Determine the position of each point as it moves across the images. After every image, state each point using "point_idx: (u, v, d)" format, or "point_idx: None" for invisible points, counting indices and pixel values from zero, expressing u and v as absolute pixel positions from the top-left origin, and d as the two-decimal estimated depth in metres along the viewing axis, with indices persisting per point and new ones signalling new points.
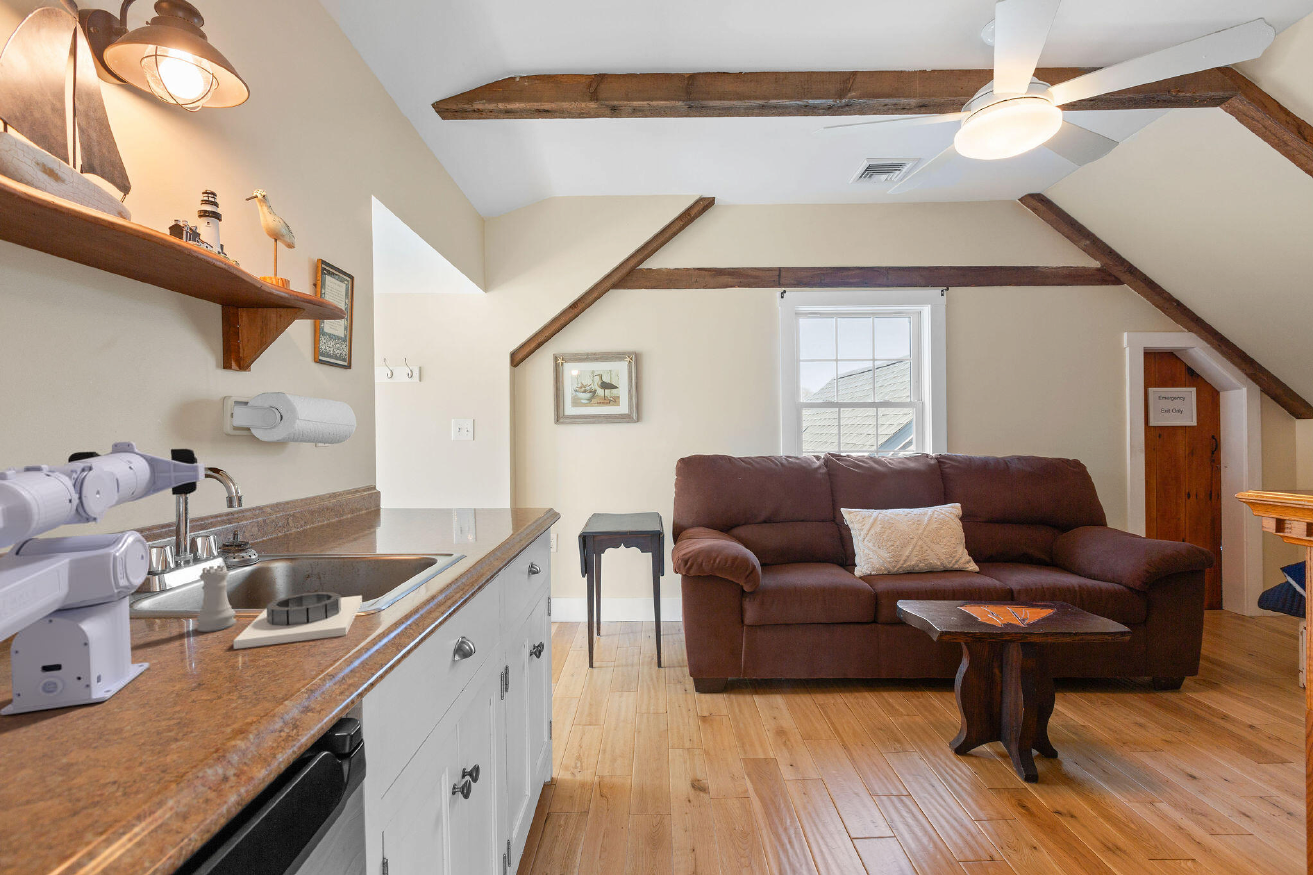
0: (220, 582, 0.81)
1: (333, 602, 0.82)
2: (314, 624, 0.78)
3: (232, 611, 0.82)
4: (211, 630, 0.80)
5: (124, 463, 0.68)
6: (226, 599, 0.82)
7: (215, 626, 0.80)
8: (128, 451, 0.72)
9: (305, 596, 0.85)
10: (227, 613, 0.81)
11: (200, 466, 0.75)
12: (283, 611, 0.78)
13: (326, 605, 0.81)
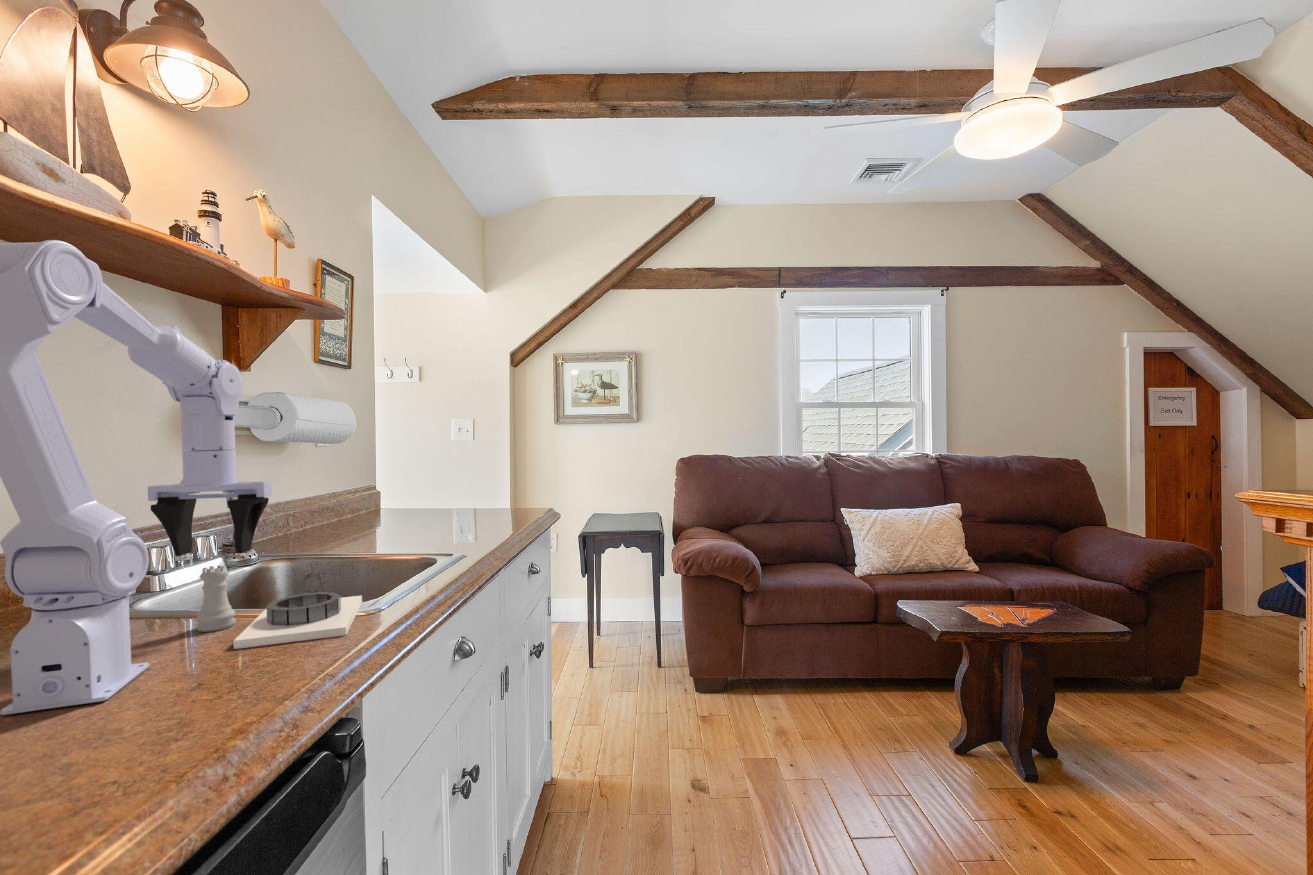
0: (220, 582, 0.81)
1: (333, 602, 0.82)
2: (314, 624, 0.78)
3: (232, 611, 0.82)
4: (211, 630, 0.80)
5: None
6: (226, 599, 0.82)
7: (215, 626, 0.80)
8: None
9: (305, 596, 0.85)
10: (227, 613, 0.81)
11: (270, 486, 0.82)
12: (283, 611, 0.78)
13: (326, 605, 0.81)
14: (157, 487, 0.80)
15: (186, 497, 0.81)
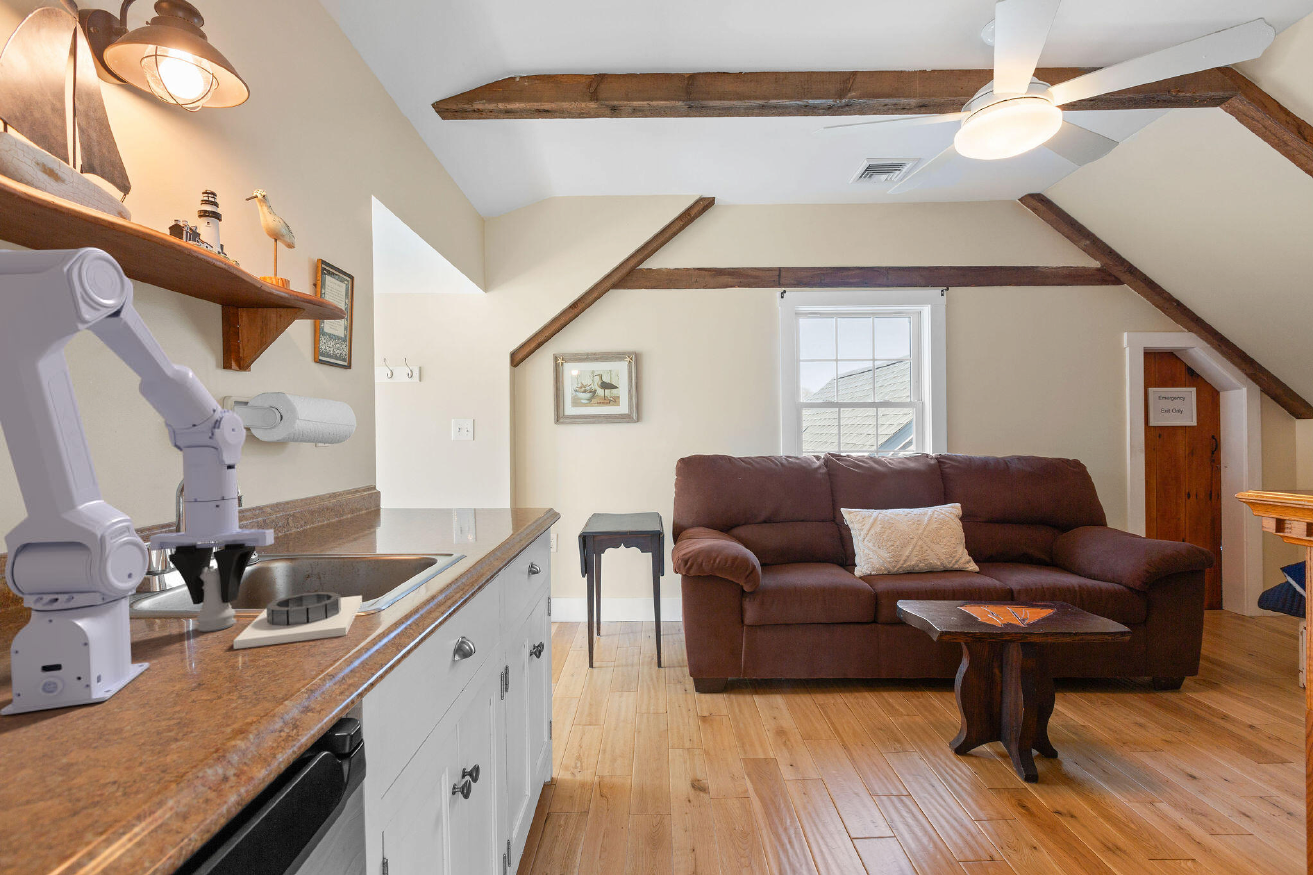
0: (220, 582, 0.81)
1: (333, 602, 0.82)
2: (314, 624, 0.78)
3: (232, 611, 0.82)
4: (211, 630, 0.80)
5: None
6: None
7: (215, 626, 0.80)
8: None
9: (305, 596, 0.85)
10: (227, 612, 0.81)
11: (272, 534, 0.83)
12: (283, 611, 0.78)
13: (326, 605, 0.81)
14: (159, 537, 0.80)
15: None
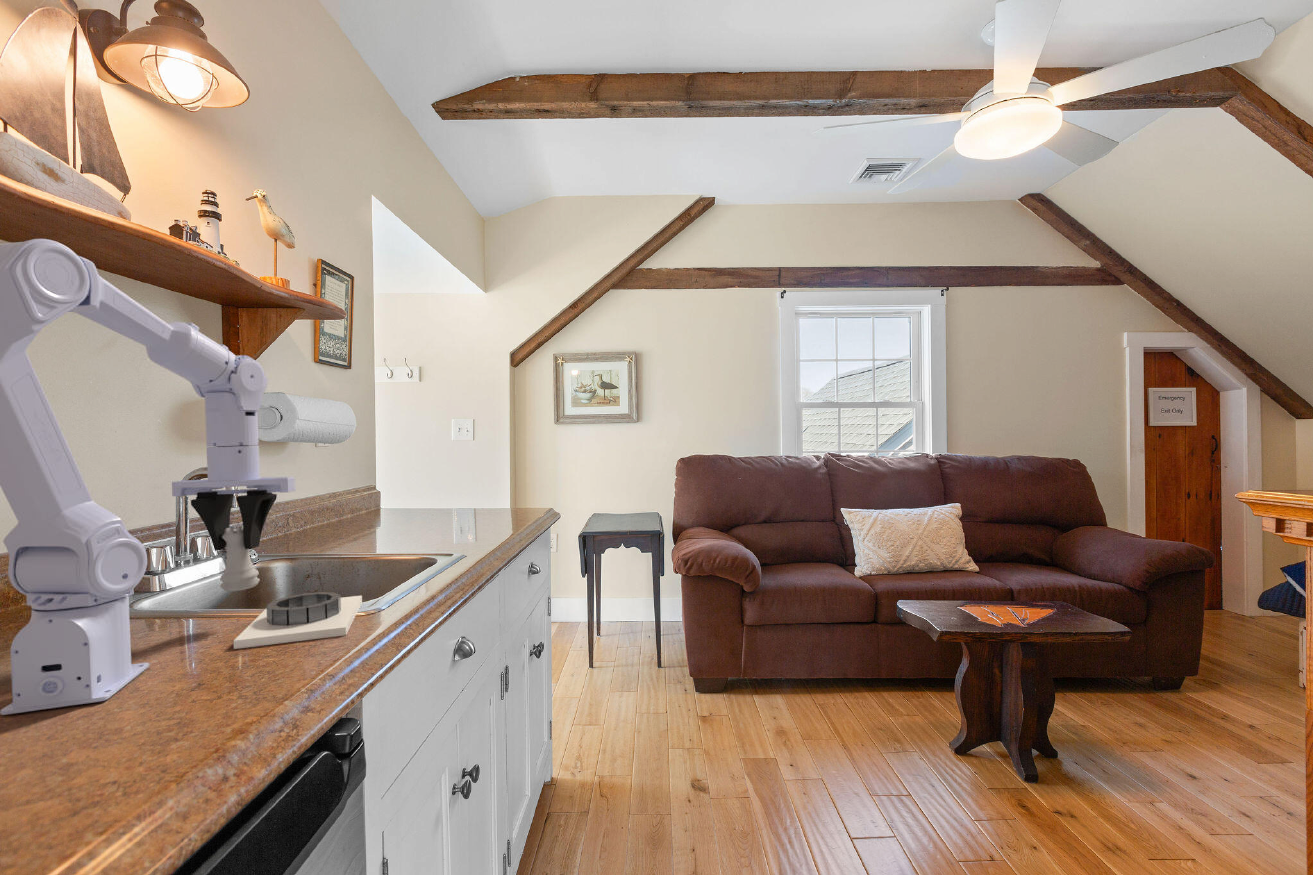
0: (242, 543, 0.81)
1: (333, 602, 0.82)
2: (314, 624, 0.78)
3: (255, 571, 0.83)
4: (235, 590, 0.80)
5: (258, 441, 0.83)
6: (249, 559, 0.82)
7: (239, 586, 0.81)
8: None
9: (305, 596, 0.85)
10: (250, 573, 0.82)
11: (294, 482, 0.83)
12: (283, 611, 0.78)
13: (326, 605, 0.81)
14: (181, 482, 0.80)
15: None
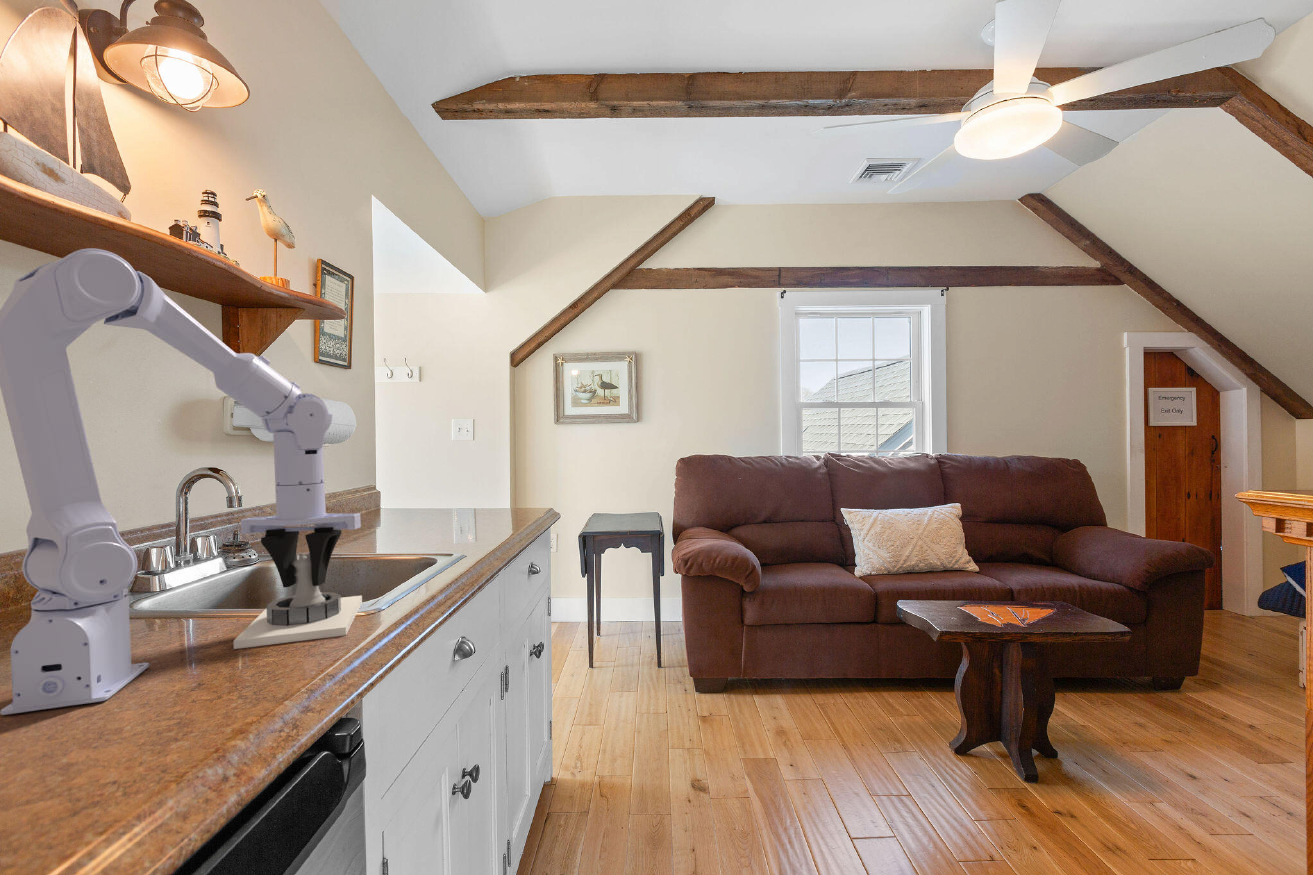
0: None
1: (333, 602, 0.82)
2: (314, 624, 0.78)
3: (323, 598, 0.84)
4: None
5: (323, 478, 0.83)
6: (317, 586, 0.83)
7: None
8: None
9: None
10: (318, 599, 0.83)
11: (359, 518, 0.83)
12: (283, 611, 0.78)
13: (326, 605, 0.81)
14: (250, 520, 0.81)
15: None
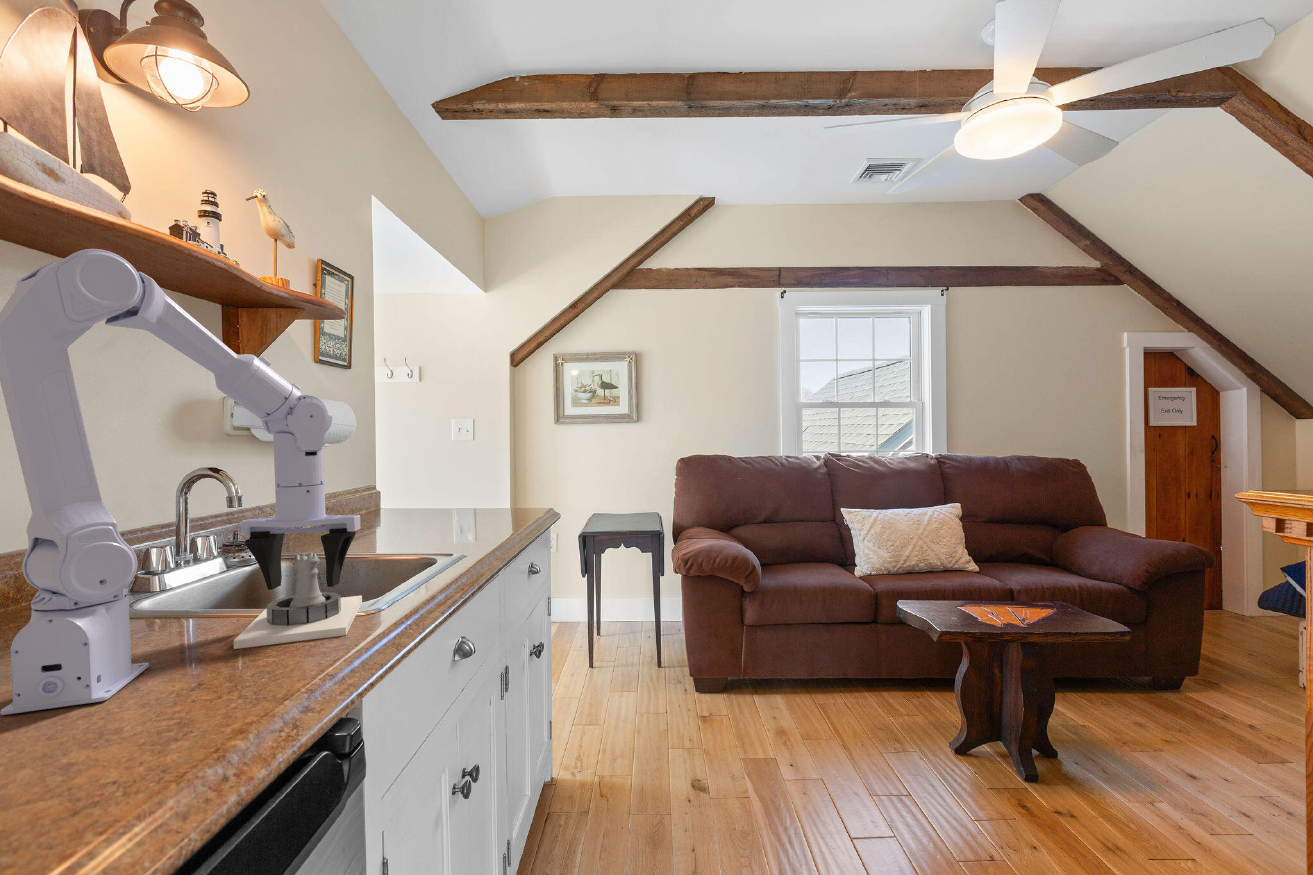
0: (312, 569, 0.82)
1: (333, 602, 0.82)
2: (314, 624, 0.78)
3: (323, 598, 0.84)
4: None
5: (323, 480, 0.83)
6: (317, 586, 0.83)
7: None
8: None
9: None
10: (318, 599, 0.83)
11: (359, 520, 0.83)
12: (283, 611, 0.78)
13: (326, 605, 0.81)
14: (250, 522, 0.81)
15: (277, 531, 0.82)
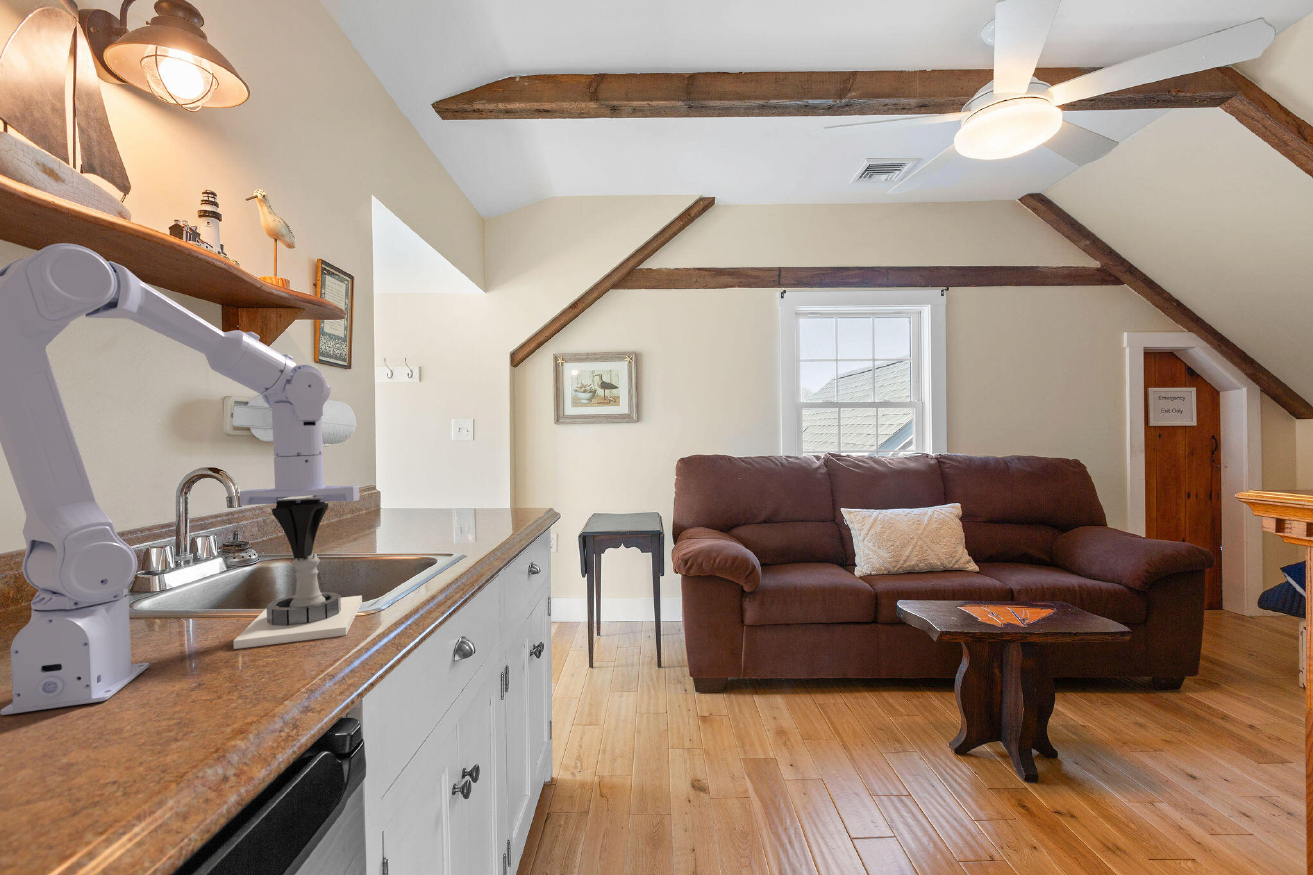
0: (312, 569, 0.82)
1: (333, 602, 0.82)
2: (314, 624, 0.78)
3: (323, 598, 0.84)
4: None
5: (322, 451, 0.83)
6: (317, 586, 0.83)
7: None
8: None
9: None
10: (318, 599, 0.83)
11: (358, 490, 0.83)
12: (283, 611, 0.78)
13: (326, 605, 0.81)
14: (249, 492, 0.80)
15: (276, 502, 0.82)
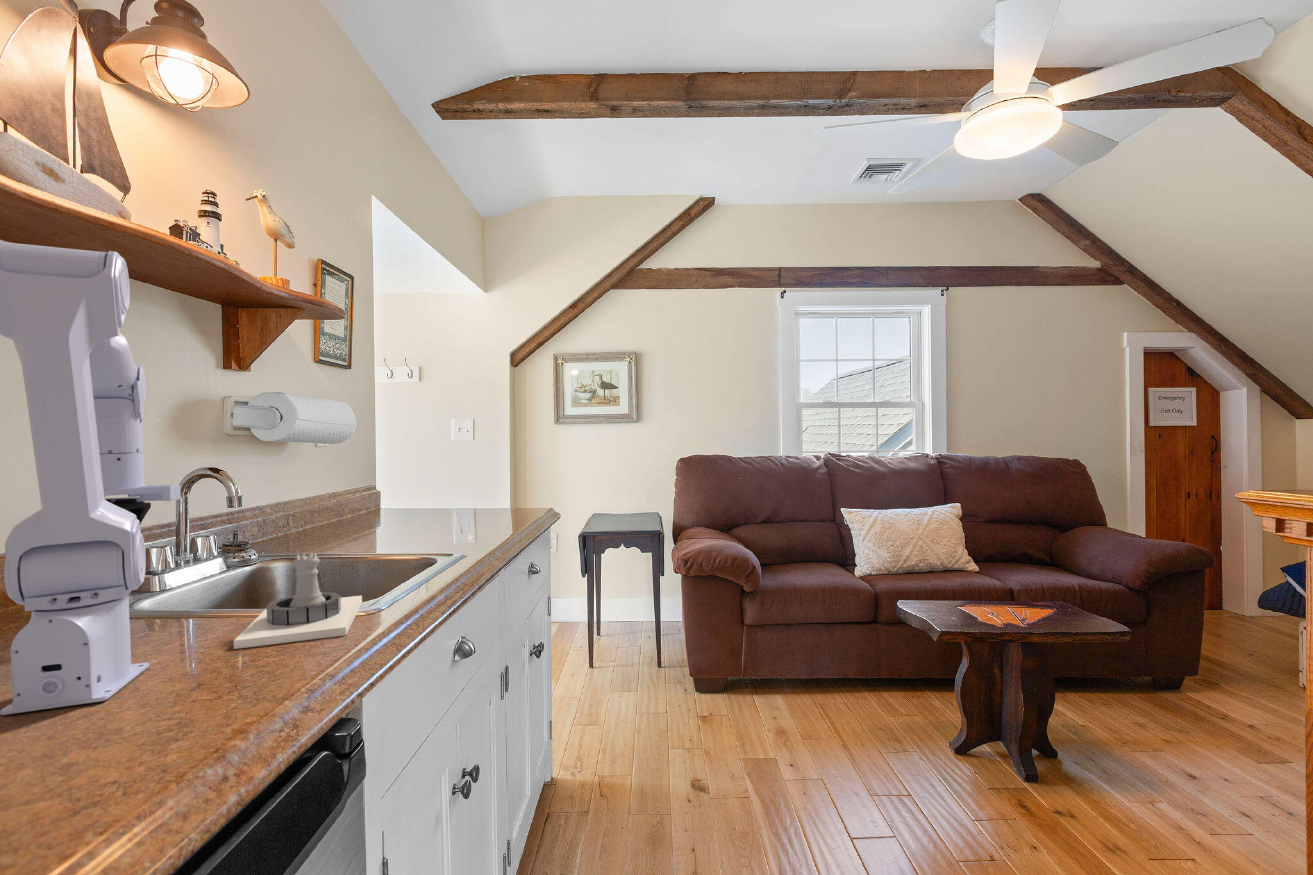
0: (312, 569, 0.82)
1: (333, 602, 0.82)
2: (314, 624, 0.78)
3: (323, 598, 0.84)
4: None
5: None
6: (317, 586, 0.83)
7: None
8: None
9: None
10: (318, 599, 0.83)
11: (178, 490, 0.81)
12: (283, 611, 0.78)
13: (326, 605, 0.81)
14: None
15: None
